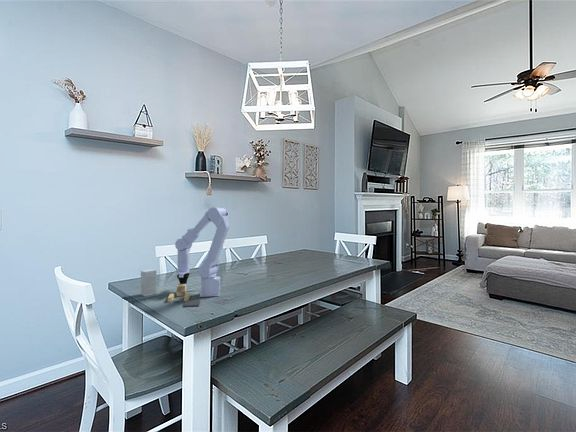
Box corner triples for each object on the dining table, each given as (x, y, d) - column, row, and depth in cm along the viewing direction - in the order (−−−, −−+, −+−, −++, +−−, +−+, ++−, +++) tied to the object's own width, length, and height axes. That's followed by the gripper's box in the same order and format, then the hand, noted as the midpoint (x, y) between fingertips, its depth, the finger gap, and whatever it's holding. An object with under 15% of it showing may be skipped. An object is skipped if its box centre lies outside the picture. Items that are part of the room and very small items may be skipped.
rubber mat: (200, 301, 136) (200, 300, 136) (198, 306, 129) (198, 304, 129) (186, 302, 134) (186, 300, 134) (183, 306, 128) (183, 305, 128)
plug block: (186, 293, 147) (186, 283, 147) (185, 296, 143) (185, 286, 143) (178, 293, 146) (178, 284, 146) (176, 296, 142) (176, 286, 142)
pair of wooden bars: (189, 297, 142) (189, 292, 142) (187, 301, 136) (187, 296, 136) (170, 297, 140) (170, 293, 140) (167, 301, 134) (167, 297, 134)
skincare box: (152, 292, 149) (152, 268, 148) (156, 293, 146) (156, 270, 145) (140, 294, 144) (140, 270, 143) (144, 296, 141) (144, 272, 141)
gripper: (177, 259, 156) (177, 284, 157) (172, 265, 142) (172, 292, 142) (191, 259, 157) (191, 284, 158) (187, 264, 143) (187, 292, 144)
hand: (183, 288), depth 150 cm, fingers closed
